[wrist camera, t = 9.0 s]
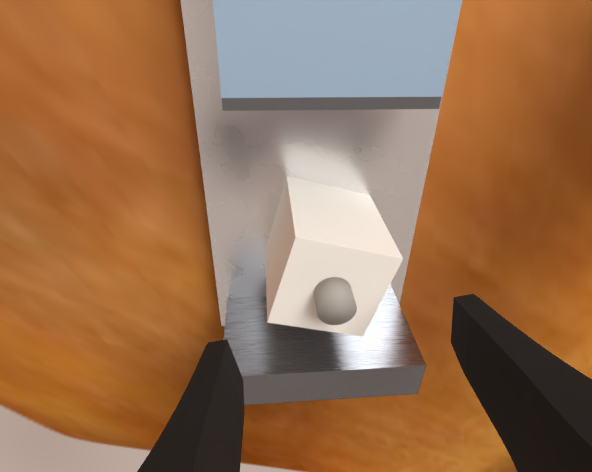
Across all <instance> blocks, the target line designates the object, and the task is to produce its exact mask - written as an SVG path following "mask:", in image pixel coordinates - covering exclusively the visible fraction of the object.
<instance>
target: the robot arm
mask: <svg viewBox="0 0 592 472" xmlns="http://www.w3.org/2000/svg"><path fill="white" fill-rule="evenodd" d="M451 343H452V346H453V348H454V351H455V353H456V356H457V358H458V360H459V363H460V365H461V367H462V370H463V372H464V374H465V376H466V377H467V379H468V381H469V383H470V385H471V386H472V388H473V390H474V392H475V393H476V395H477V397H478V399H479V401H480V402H481V404H482V406H483V408H484V409H485V411H486V413H487V415H488V416H489V418H490V420H491V422H492V423H493V425H494V427H495V429H496V430H497V432H498V434H499V436H500V437H501V439H502V441H503V443H504V445H505V447H506V448H507V450H508V452H509V454H510V456H511V458H512V460H513V463H514V465H515V467H516V469H517V471H518V472H592V379H590V378H589V377H587V376H585V375H584V374H582V373H581V372H579V371H577V370H576V369H574V368H573V367H571V366H570V365H568V364H567V363H565V362H564V361H562V360H561V359H559V358H558V357H556V356H555V355H553V354H552V353H550V352H549V351H548V350H546V349H545V348H543V347H542V346H541V345H539V344H538V343H536V342H535V341H534V340H532V339H531V338H530V337H528V336H527V335H526V334H524V333H523V332H522V331H520V330H519V329H518V328H516V327H515V326H514V325H512V324H511V323H510V322H509V321H507V320H506V319H505V318H503V317H502V316H501V315H500V314H498V313H497V312H496V311H495V310H493V309H492V308H491V307H490V306H488V305H487V304H486V303H485V302H483V301H482V300H481V299H480V298H478V297H477V296H476V295H474V294H470V295H465V296H459V297H454V303H453V319H452V334H451ZM243 423H244V386H243V378H242V375H241V373H240V370H239V368H238V365H237V363H236V360H235V358H234V355H233V353H232V350H231V348H230V345H229V343H228V340H227V339H226V340H221V341H215V342H210V343H208V344H207V345H206V347H205V349H204V352H203V354H202V356H201V358H200V361H199V363H198V365H197V367H196V369H195V372H194V374H193V376H192V378H191V380H190V382H189V384H188V386H187V388H186V390H185V392H184V394H183V396H182V398H181V400H180V402H179V404H178V405H177V407H176V409H175V411H174V413H173V415H172V416H171V418H170V420H169V422H168V423H167V425H166V427H165V429H164V430H163V432H162V434H161V436H160V437H159V439H158V440H157V442H156V444H155V445H154V447H153V449H152V450H151V452H150V453H149V455H148V456H147V458H146V460H145V461H144V462H143V464H142V465H141V467H140V468H139V470H138V471H137V472H240V460H241V448H242V436H243Z"/></svg>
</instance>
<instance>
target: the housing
mask: <svg viewBox="0 0 592 472" xmlns="http://www.w3.org/2000/svg"><path fill="white" fill-rule="evenodd" d="M265 256H266V297H267V323H274V324H281V325H288V326H294V327H301V328H308V329H315V330H321V331H328V332H335V333H342V334H349V335H355V336H362V337H363V335H364V333H365V331H366V330H367V328H368V326H369V324H370V322H371V320H372V318H373V316H374V314H375V312H376V310H377V308H378V307H379V305H380V303H381V301H382V299H383V297H384V295H385V293H386V291H387V289H388V287H389V285H390V283H391V282H392V280H393V278H394V276H395V274H396V272H397V270H398V268H399V266H400V264H401V262H402V260H403V257H402V255H401V253H400V252H399V250H398V248H397V246H396V244H395V242H394V240H393V238H392V236H391V234H390V233H389V231H388V229H387V227H386V225H385V223H384V221H383V219H382V217H381V215H380V214H379V212H378V210H377V208H376V206H375V204H374V202H373V200H372V198H371V196H370V195H366V194H362V193H357V192H353V191H349V190H345V189H340V188H336V187H332V186H327V185H323V184H319V183H314V182H310V181H306V180H301V179H297V178H293V177H289V176H287V177H286V180H285V184H284V187H283V190H282V194H281V197H280V201H279V204H278V208H277V211H276V214H275V218H274V221H273V225H272V228H271V231H270V235H269V238H268V242H267V245H266V248H265Z"/></svg>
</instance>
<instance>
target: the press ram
mask: <svg viewBox="0 0 592 472" xmlns="http://www.w3.org/2000/svg"><path fill="white" fill-rule="evenodd" d="M461 1H462V0H213V7H214V19H215V30H216V42H217V53H218V64H219V76H220V87H221V99H222V110H223V111H259V110H376V109H439V107H440V102H441V98H442V93H443V88H444V83H445V78H446V73H447V68H448V64H449V59H450V54H451V49H452V44H453V39H454V34H455V30H456V25H457V20H458V15H459V10H460V5H461Z"/></svg>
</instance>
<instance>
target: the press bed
mask: <svg viewBox="0 0 592 472" xmlns="http://www.w3.org/2000/svg"><path fill="white" fill-rule="evenodd" d="M461 5H462V1H461ZM461 5H460V10H461ZM181 8H182V16H183V24H184V32H185V40H186V48H187V56H188V64H189V72H190V80H191V88H192V96H193V104H194V112H195V120H196V128H197V136H198V144H199V151H200V159H201V167H202V175H203V183H204V191H205V199H206V207H207V215H208V223H209V231H210V239H211V247H212V255H213V263H214V271H215V279H216V287H217V295H218V303H219V311H220V319H221V326H225V328H224V338H223V340H226V339H227V340H228V343H229V345H230V348H231V350H232V353H233V355H234V358H235V360H236V363H237V365H238V368H239V370H240V373H241V375H242V378H243V386H244V405H250V404H266V403H282V402H298V401H313V400H329V399H345V398H361V397H376V396H392V395H408V394H418V392H419V388H420V385H421V381H422V378H423V374H424V371H425V367H426V364H425V362H424V360H423V357H422V355H421V353H420V351H419V348H418V346H417V344H416V341H415V339H414V337H413V335H412V332H411V330H410V328H409V326H408V323H407V321H406V319H405V316H404V314H403V312H402V310H401V307H400V305H399V304H400V299H401V294H402V290H403V285H404V280H405V275H406V270H407V265H408V261H409V256H410V251H411V246H412V241H413V237H414V232H415V227H416V222H417V217H418V212H419V208H420V203H421V198H422V193H423V188H424V183H425V179H426V174H427V169H428V164H429V159H430V155H431V150H432V145H433V140H434V135H435V130H436V126H437V121H438V116H439V111H440V107H439V109H376V110H259V111H223V110H222V99H221V87H220V76H219V64H218V53H217V42H216V30H215V19H214V7H213V0H181ZM460 10H459V15H460ZM459 15H458V19H459ZM457 24H458V20H457ZM456 29H457V25H456ZM455 34H456V30H455ZM455 34H454V39H455ZM454 39H453V44H454ZM453 44H452V48H453ZM451 53H452V49H451ZM450 58H451V54H450ZM449 63H450V59H449ZM448 68H449V64H448ZM448 68H447V72H448ZM446 77H447V73H446ZM445 82H446V78H445ZM444 87H445V83H444ZM443 92H444V88H443ZM442 97H443V93H442ZM441 101H442V98H441ZM440 106H441V102H440ZM287 176H289V177H293V178H297V179H301V180H306V181H310V182H314V183H319V184H323V185H327V186H332V187H336V188H340V189H345V190H349V191H353V192H357V193H362V194H366V195H370V196H371V198H372V200H373V202H374V204H375V206H376V208H377V210H378V212H379V214H380V215H381V217H382V219H383V221H384V223H385V225H386V227H387V229H388V231H389V233H390V234H391V236H392V238H393V240H394V242H395V244H396V246H397V248H398V250H399V252H400V253H401V255H402V257H403V260H402V262H401V264H400V266H399V268H398V270H397V272H396V274H395V276H394V278H393V280H392V282H391V283H390V285H389V287H388V289H387V291H386V293H385V295H384V297H383V299H382V301H381V303H380V305H379V307H378V308H377V310H376V312H375V314H374V316H373V318H372V320H371V322H370V324H369V326H368V328H367V330H366V331H365V333H364V335H363V337H362V336H355V335H349V334H342V333H335V332H328V331H321V330H315V329H308V328H301V327H294V326H288V325H281V324H274V323H267V297H266V256H265V248H266V245H267V242H268V238H269V235H270V231H271V228H272V225H273V221H274V218H275V214H276V211H277V208H278V204H279V201H280V197H281V194H282V190H283V187H284V184H285V180H286V177H287Z"/></svg>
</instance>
